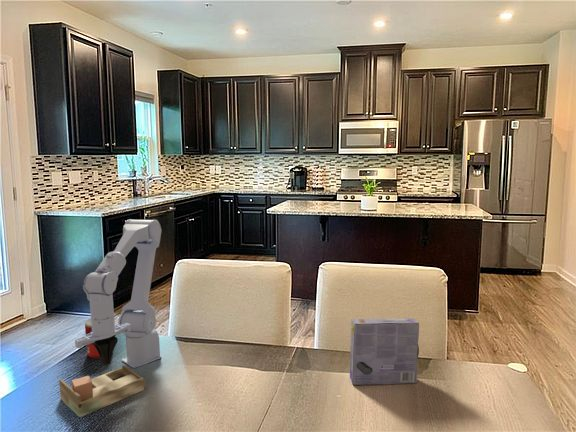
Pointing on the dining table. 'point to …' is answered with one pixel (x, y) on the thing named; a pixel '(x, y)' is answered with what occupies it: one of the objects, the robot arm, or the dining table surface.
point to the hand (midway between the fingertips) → (106, 363)
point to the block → (83, 387)
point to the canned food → (90, 347)
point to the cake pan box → (384, 351)
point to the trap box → (103, 390)
